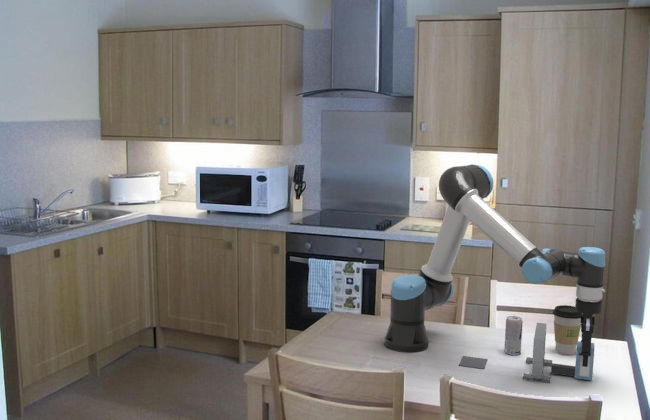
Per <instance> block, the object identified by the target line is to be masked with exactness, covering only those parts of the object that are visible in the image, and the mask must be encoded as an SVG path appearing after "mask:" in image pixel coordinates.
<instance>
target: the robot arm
mask: <svg viewBox="0 0 650 420" xmlns="http://www.w3.org/2000/svg"><path fill="white" fill-rule="evenodd" d="M493 189H494V178H493V176H492V174H491V172H490V170H489V169H488V168H486V167H485V166H484V165H480V164H473V163H472V164H467V165H459V166H457V165H455V166H451V167H448V168H447V169H446V170H445V171H443V173H442V174H441V175H440V178H439V180H438V191H439V193H440V196H441V197H442V200H444V201H445V203H446V204H447V205H448V206H447V209H446V210H445V214H444V217H443V220H442V222H441V224H440V228H439V230H438V233H437V236H436V239H435V242H434V244H433V246H432V250H431V253H430V255H429V259H428V262H427V263H426V264H423V265H422V266H421V268H420V270H419V273H418V275H417V274H407V275H401V276H398V277H396V278H394V279H393V280H392V283H391V289H390V316H389V317H390V321H389V325H388V328H387V331H386V334H385V336H384V346H385V347H386V348H388V349H391V350H394V351H397V352H404V353H415V352H422V351H425V350H427V349H428V348H429V346H430V345H429V343H430V341H429V340H430V339H429V335H428V332H427V328H426V325H425V318H426V317H425V313H426V311H429V310H431V309H434V308H438V307H440V306H441V307H442V306H443V305H444V304H446V303H448V302H449V300H450V299H451V298H452V296H453V294H454V285H453V279H454V277H453V275H452V273H451V272H452V269H453V267H454V264H455V263H456V262H455V261H456V259H457V257H458V255H459V252H460V248H461V245H462V243H463V240H464V237H465V235H466V233H467V229H468V227H469V224H470V222H471V223H472V224H473V225H474V226H475V227H477V228H478V229H479V230H480V232H482V233H483V234H484V235H485V236H486V237H487V238H489V239H490V241H492V242H493V244H495V245H496V246H497V247H498V248H500V249H501V250H502V251H503V252H504V253H505V254H506V255H507V256H508V257H509V258H510V259H511V260H512V261H514V262H515V263H516V265H518V266H519V267H520V268H521V274H522V276H523V278H524V279H525V280H526V281H527V282H528V283H531V284H535V285H536V284H541V283H542V284H544V283H546V282H547V281H550V280H551V279H555V278H557V277H559V276H565V277H572V278H576V289H575V296H576V298H575V306H574V307H575V309H576V311H578V312H580V313H583V316H581V328H580V332H581V340H580V342H582V352H581V353H579V355H581V358H580V373H579V376H586V377H589V368H590V355H591V353H590V352H591V343H592V338H593V337H592V334H594V326H595V320H596V318H595V316H593V315H598V314H601V313H602V311H603V301H602V299H603V293H605V292H606V289H605V288H604V280H605V268H606V251H604V249H602V248H599V247H592V246H583V247H580V248H579V250H578V252H574V251H567V250H561V249H557V248H543V249H541V250H540V249H539V248H537V247H536V245H534V244H533V243H532V242H531V241H530V240H529V239H527V237H525V236H524V235H523V234H522V233H521V232H520V231H519V230H518V229H517V228H515V227H514V226H513V225H512V224H511V223H510V222H509V221H507V219H505V218H504V217H503V216H502V214H500V213H498V211H497V210H495V209H494V208H493V206H491V205H490V204H489V203H488V202H487V201H485V200H484V199H486V198H487V197H489V195H490V194H492V191H493Z"/></svg>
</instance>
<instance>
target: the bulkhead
mask: <svg viewBox="0 0 650 420" xmlns="http://www.w3.org/2000/svg"><path fill="white" fill-rule="evenodd" d="M535 325H536V326H535V332H534V336H533V345H532V357H530V356H529V357H527V356H526V360H525V363H526V364H530V365H531V373H523V374H522V380H523V381H530V382H537V383H543V384H551V381H552V376H549V375H547V376H546V375H543V371H544V368H545V366H546V367H551V365H552V363H553V360H552V359H547V358H546V357H545V354H546V339H547V323H546V322H545V323H543V322H536V324H535ZM545 358H546V359H545Z"/></svg>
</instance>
